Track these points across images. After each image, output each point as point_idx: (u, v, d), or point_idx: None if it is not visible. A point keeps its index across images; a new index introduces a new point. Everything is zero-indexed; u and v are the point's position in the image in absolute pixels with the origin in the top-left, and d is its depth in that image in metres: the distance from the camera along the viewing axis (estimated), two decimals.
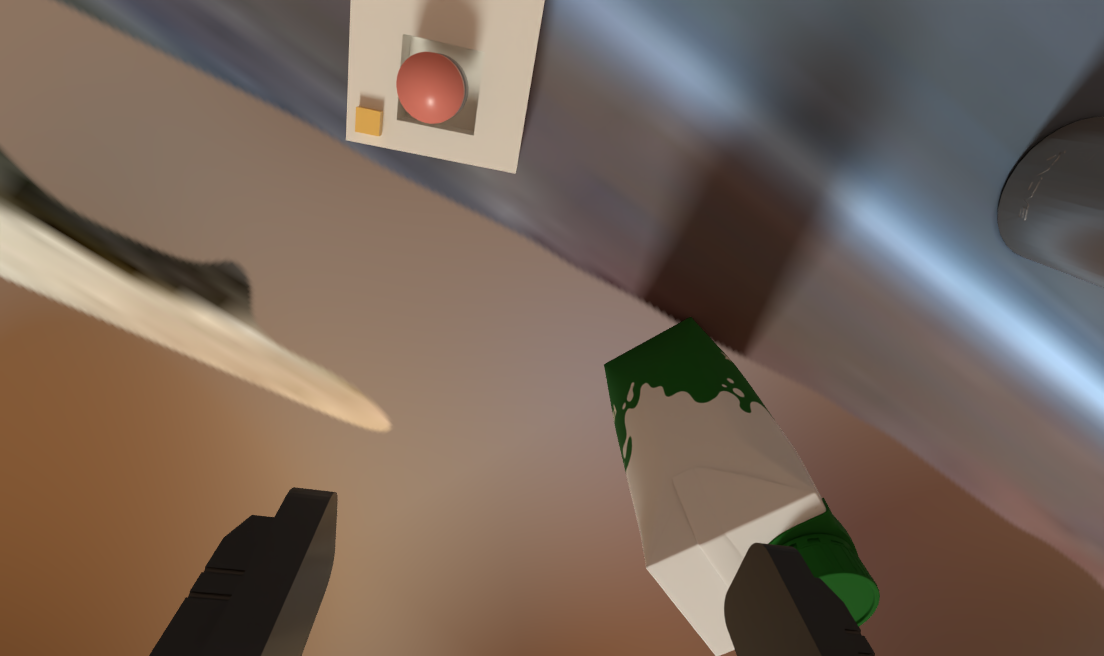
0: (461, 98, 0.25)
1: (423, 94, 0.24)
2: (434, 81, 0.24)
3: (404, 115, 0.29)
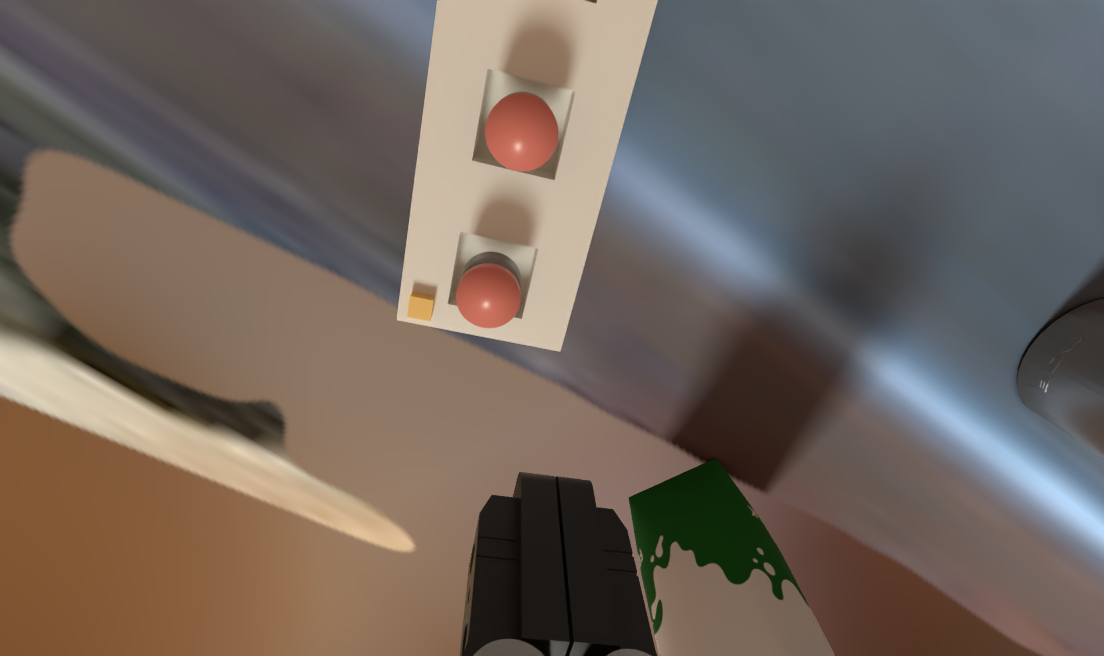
0: (518, 307, 0.25)
1: (481, 303, 0.25)
2: (493, 293, 0.25)
3: (452, 289, 0.30)
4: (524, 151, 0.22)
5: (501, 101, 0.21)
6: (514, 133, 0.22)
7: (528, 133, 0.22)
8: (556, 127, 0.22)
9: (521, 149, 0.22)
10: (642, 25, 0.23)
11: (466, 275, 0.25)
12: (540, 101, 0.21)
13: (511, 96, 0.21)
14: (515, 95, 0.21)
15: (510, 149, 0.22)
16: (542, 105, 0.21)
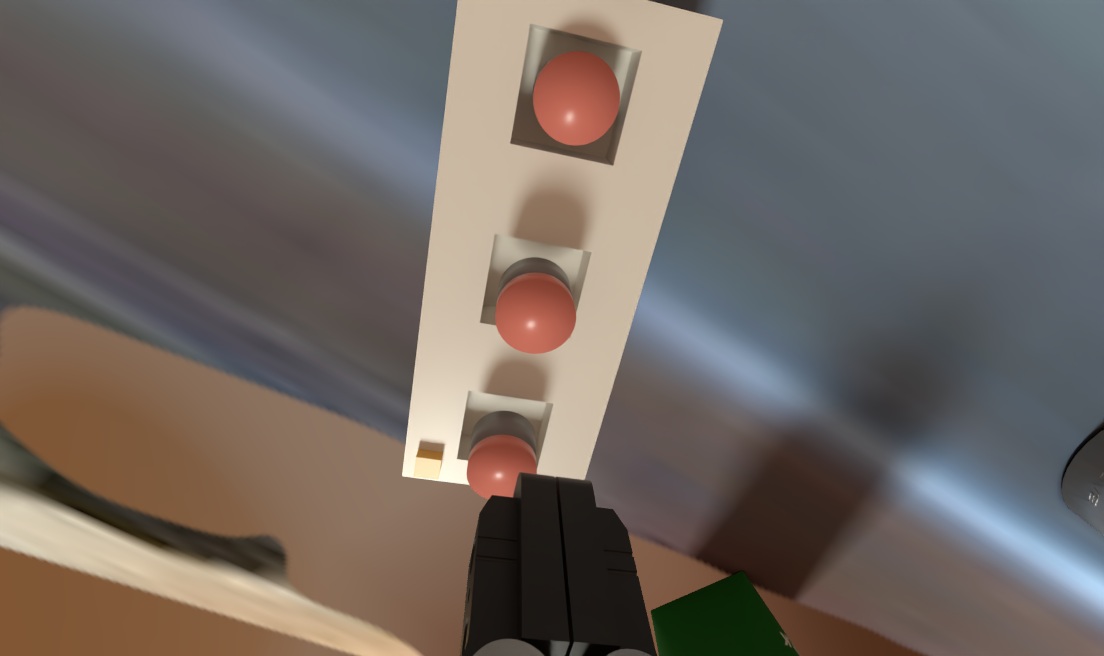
0: None
1: (494, 479, 0.23)
2: (507, 468, 0.23)
3: (461, 434, 0.28)
4: (539, 334, 0.20)
5: (512, 288, 0.19)
6: (527, 318, 0.20)
7: (543, 317, 0.20)
8: (574, 310, 0.20)
9: (535, 332, 0.20)
10: (664, 184, 0.21)
11: (477, 452, 0.22)
12: (555, 286, 0.19)
13: (523, 283, 0.19)
14: (528, 282, 0.19)
15: (523, 333, 0.20)
16: (558, 290, 0.19)
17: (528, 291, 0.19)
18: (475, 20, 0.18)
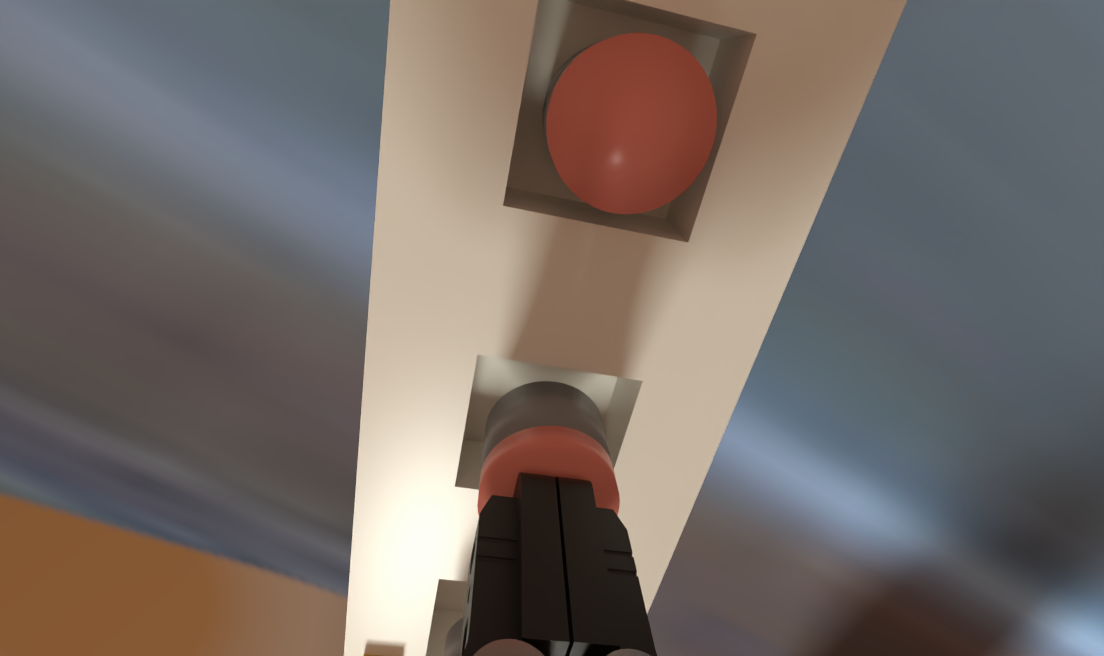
0: None
1: None
2: None
3: (433, 611, 0.19)
4: None
5: (508, 462, 0.11)
6: None
7: None
8: (616, 494, 0.11)
9: None
10: (775, 272, 0.12)
11: None
12: (585, 458, 0.11)
13: (528, 454, 0.11)
14: (536, 453, 0.11)
15: None
16: (589, 465, 0.11)
17: (536, 467, 0.11)
18: None
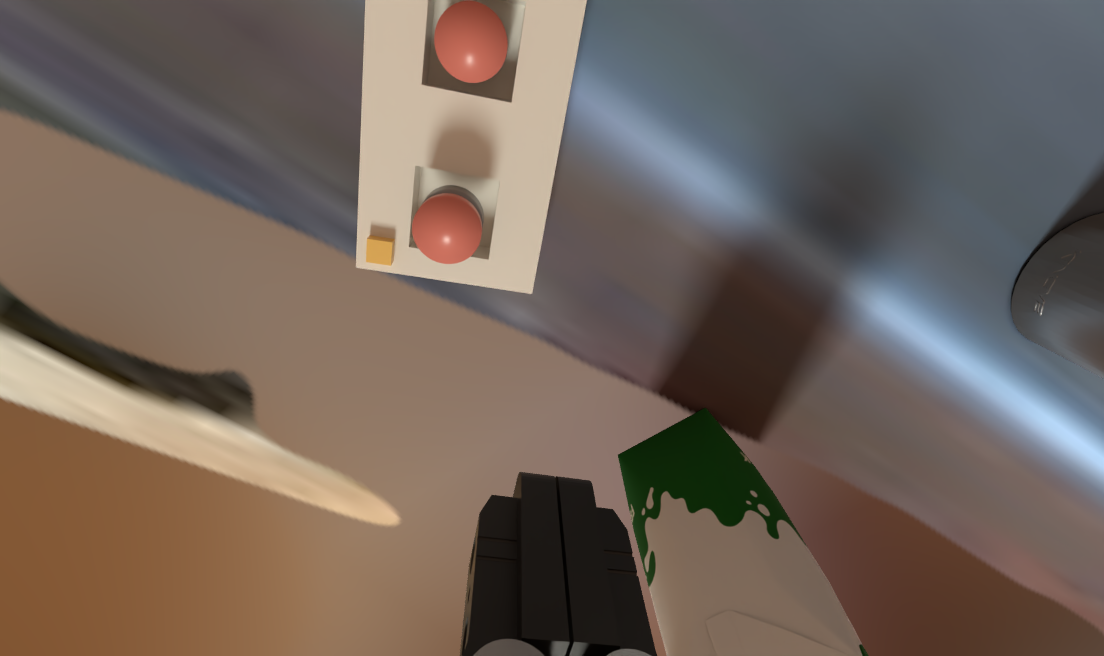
0: (479, 239, 0.24)
1: (440, 237, 0.23)
2: (452, 224, 0.23)
3: None
4: (475, 61, 0.22)
5: (448, 9, 0.22)
6: (463, 43, 0.22)
7: (477, 42, 0.22)
8: (505, 34, 0.22)
9: (472, 59, 0.22)
10: None
11: (421, 206, 0.23)
12: (487, 8, 0.22)
13: (457, 3, 0.21)
14: (461, 2, 0.21)
15: (461, 60, 0.22)
16: (489, 12, 0.22)
17: (462, 13, 0.22)
18: None
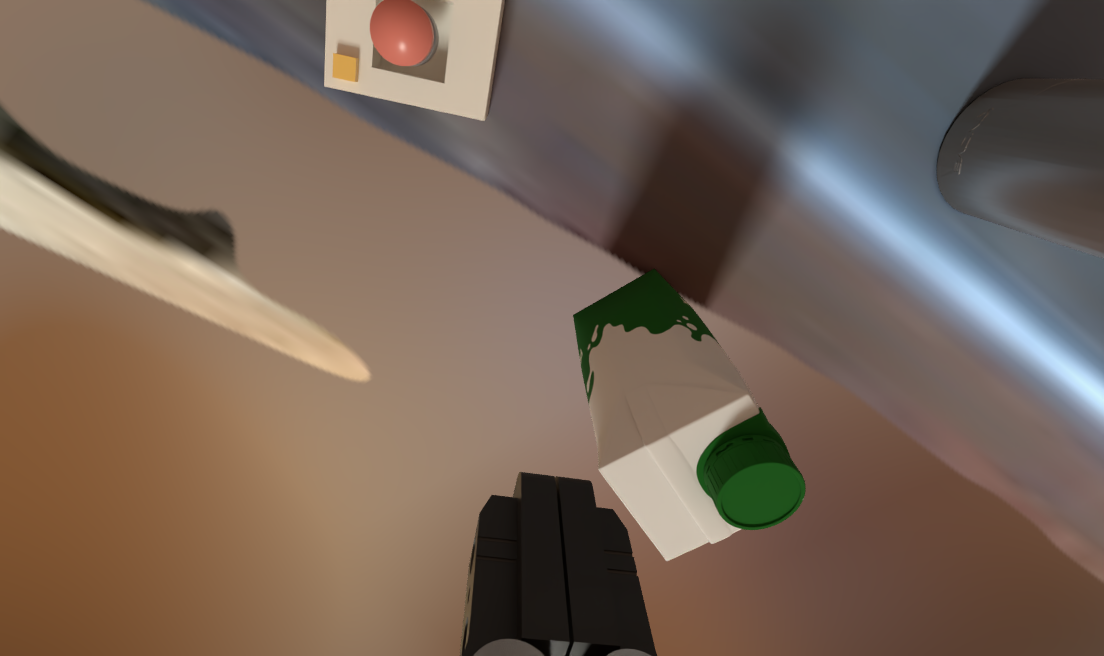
0: (430, 42, 0.27)
1: (395, 37, 0.26)
2: (405, 25, 0.26)
3: (379, 65, 0.31)
4: None
5: None
6: None
7: None
8: None
9: None
10: None
11: (378, 5, 0.26)
12: None
13: None
14: None
15: None
16: None
17: None
18: None
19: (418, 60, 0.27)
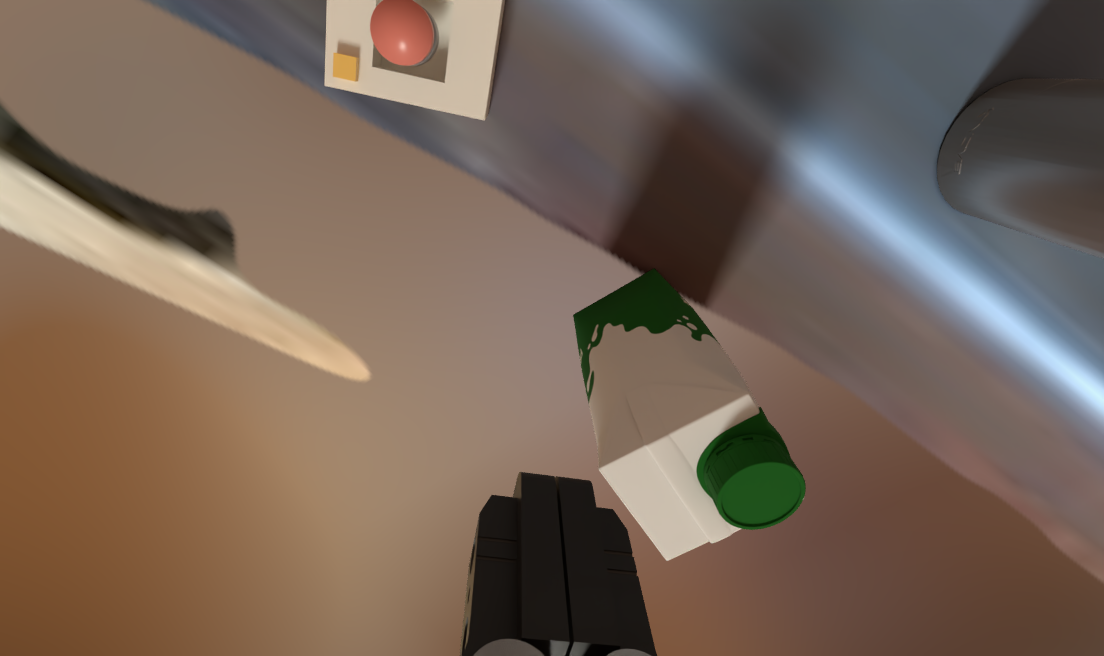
0: (430, 41, 0.27)
1: (395, 37, 0.26)
2: (405, 24, 0.26)
3: (380, 65, 0.31)
4: None
5: None
6: None
7: None
8: None
9: None
10: None
11: (378, 5, 0.26)
12: None
13: None
14: None
15: None
16: None
17: None
18: None
19: (418, 59, 0.27)
